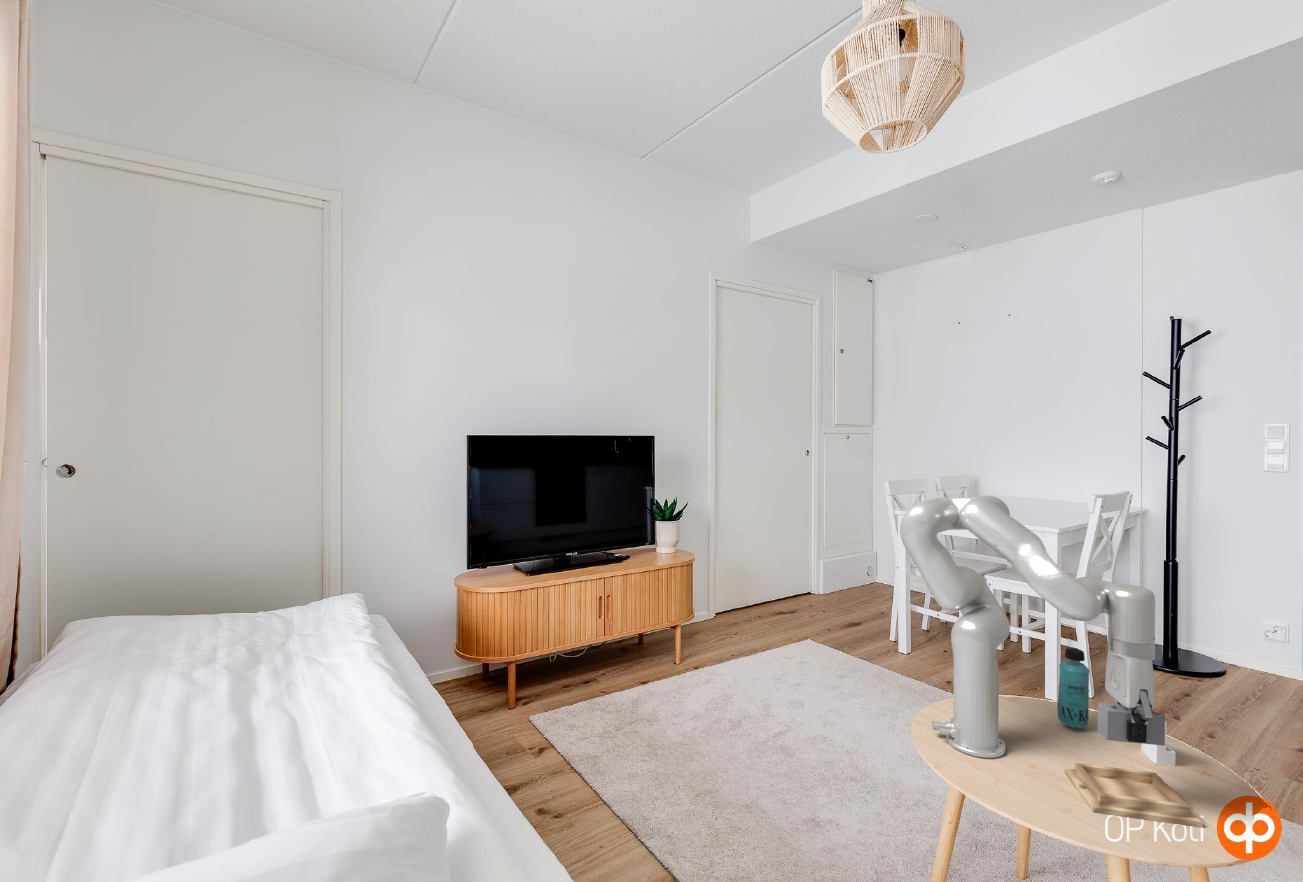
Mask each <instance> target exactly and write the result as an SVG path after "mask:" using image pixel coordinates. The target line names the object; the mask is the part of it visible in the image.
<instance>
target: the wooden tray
mask: <svg viewBox="0 0 1303 882" xmlns="http://www.w3.org/2000/svg"><path fill="white" fill-rule="evenodd" d="M1064 774H1065V775H1066V777H1067V778H1068V779H1069V781H1070V782H1071V784H1072V785H1073V786H1074V788H1075V790H1076V791H1077V792H1078V793H1079V795H1080V797H1082V799H1083V801H1085V803H1086V804H1087V806H1088V807H1089V809H1090V810H1091V811H1092V812H1093V813H1096V814H1098V813H1099V814H1104V815H1105V814H1106V815H1109V816H1110V815H1111V816H1118V817H1119V816H1120V817H1126V818H1133V819H1140V820H1147V821H1154V822H1159V823H1160V822H1163V823H1168V824H1176V825H1183V826H1188V827H1189V826H1191V827H1196V828H1197V827H1198V828H1203V821H1202V820H1201V819H1200V818H1199V817H1197V815H1196V814H1195V813H1194V812H1193V811H1192V810H1191V807H1190V806H1189V805H1188V804H1187V803H1186V802H1185V801H1184V800H1183V799H1182V797H1180V795H1178V794H1177V793H1176V792H1175V791H1174V790H1173V788H1172V787H1170V785H1169V784H1167V782H1166V781H1165V780H1163V778H1162V777H1161V776H1159V774H1158V773H1157V772H1153V771H1147V770H1146V771H1145V770H1137V769H1130V768H1129V769H1128V768H1122V767H1111V766H1104V765H1095V764H1087V763H1079V762H1074V768H1073V769H1072V768H1068V767H1067V768H1066V767H1065V768H1064Z"/></svg>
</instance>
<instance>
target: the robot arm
mask: <svg viewBox="0 0 1303 882" xmlns="http://www.w3.org/2000/svg"><path fill="white" fill-rule="evenodd" d="M1010 512H1011V511H1010V509H1009V507H1008V505H1007V504H1006V503H1005V501H1003V500H1002V499H1001V498H999V497H996V496H993V495H980V496H979V495H978V496H977V495H976V496H956V497H955V496H951V497H950V496H949V497H938V498H932V499H927V500H922V501H920V502H917V503H915V504H914V505H911V507H910V508H909V509H908V510H907V511H905V513H904V514H903V517H902V519H901V522H900V525H899V533H900V534H899V535H900V538H901V543H902V545H903V547H904V548H905V550H906V552H907V553H908V555H909V557H910V558H911V560H912V561H913V564H914V565H915V567H916V568H917V570H918V573H919V574H920V576H921V577H922V579H923V581H924V583H925V585H926V586H927V588H928V590H929V592H930V594H931V596H932V597H933V598H934V600H935V602H936V603H937V605H939V606H940V608H942V609H944V610H946V611H947V612H956V611H960V613H961V616H960V617H959V618H958V619H957V620H956V621H955V622H954V623H953V625H952V628H951V631H950V632H951V633H950V640H951V641H950V642H951V643H950V644H951V649H952V650H951V651H952V657H953V659H952V660H953V711H952V712H953V715H952V716H953V717H950V718H949V721H945V722H941V721H936V720H935V721H934V720H932V721H931V726H932V727H931V728H932V730H935V731H939V734H940V735H943V736H944V735H945V739H946V741H947V743H948V744H949V745H950V746H951V747H952V748H954V749H955V750H957V751H959V752H961V753H964V754H967V755H970V756H973V757H977V758H983V759H985V758H986V759H994V758H1000V757H1001V756H1004V754H1006V744H1005V742H1004V741H1003V740H1002V739H1001V738H1000V737H999V704H1000V703H999V695H1000V693H999V691H1000V690H999V689H1000V688H999V687H1000V684H999V682H1000V681H999V679H1000V678H999V677H1000V676H999V675H1000V674H999V664H998V663H999V662H998V658H997V650H998V649H997V648H998V647H999V646H1000V645H1001V644H1003V643H1004V642H1005V641H1006V640H1007V639H1008V638H1009V635H1010V631H1011V625H1010V621H1009V619H1008V617H1007V614H1006V613H1005V611H1004V609H1003V607H1002V606H1001V605H1000V603H999V602H998V599H997V598H996V596H995V595H994V593H993V592H992V590H991V588H990V587H989V585H988V584H987V582H986V580H985V579H984V578H983V577H982V575H981V574H979V572H977V571H976V570H975V569H973V568H972V567H968V566H966V565H965V566H964V565H957V563H956V562H955V561H954V559H953V557H952V556H951V553H950V552H949V550H948V549H947V548H946V547H945V545H944V544H943V543H941V541H940V540H939V539H938V534H939V533H943V532H947V531H952V530H953V531H955V530H957V531H960V530H963V531H964V530H965V531H966V530H967V531H968V532H970V533H971V534H972V535H973V536H975V537H976V538H977V539H978V540H979V541H981V542H982V543H984V544H985V545H986V546H988V547H989V548H990V549H992V551H994V552H996V554H997V555H999V556H1001V557H1002V558H1003V560H1006V561H1007V562H1008V563H1009V564H1010V565H1011V566H1012V567H1013V568H1014V570H1015V571H1016V573H1018V575H1019V576H1020V577H1021V578H1022V580H1023V581H1024V582H1026V584H1027V585H1028V586H1029V587H1030V588H1031V589H1032V590H1033V591H1034V592H1035V593H1036V594H1037V595H1038V596H1040V598H1042V599H1043V600H1045V601H1046V602H1047V603H1048V604H1050V605H1051V606H1052V607H1053V608H1055V609H1056V610H1057V611H1059V612H1060V613H1062V615H1064V616H1066V617H1067V618H1070V619H1072V620H1075V621H1079V622H1088V621H1093V620H1094V619H1096V618H1097V617H1099V616H1100V615H1101V614H1106V615H1107V620H1108V621H1107V622H1108V623H1107V656H1106V664H1105V678H1104V679H1105V680H1104V687H1105V688H1104V689H1105V691H1106V692H1107V693H1108V694H1109V695H1110V696H1111V697H1112V698H1113V699H1114V703H1113V704H1122V705H1123V706H1124V707H1126V708H1128V714H1129V721H1128V720H1127V740H1128V741H1130V742H1129V743H1132V742H1140V743H1139V744H1142V743H1146V738H1147V724H1148V720H1149V719H1151V718H1152V712H1151V710H1152V709H1153V708H1155V703H1156V702H1155V701H1156V700H1155V699H1156V695H1155V694H1156V693H1155V692H1156V691H1155V690H1156V689H1155V688H1156V687H1155V674H1154V667H1153V661H1155V658H1156V596H1155V593H1154V592H1153V591H1152V590H1151V589H1149V588H1146V587H1143V586H1139V585H1134V584H1133V585H1132V584H1123V583H1122V584H1121V583H1120V584H1119V583H1115V582H1110V581H1106V580H1103V579H1100V578H1095V577H1090V576H1082V577H1077V578H1074V577H1073V576H1072V575H1070V574H1069V573H1068V572H1066V571H1065V570H1064V569H1062V568H1061V566H1059V565H1058V564H1057V563H1056V562H1055V561H1054V560H1053V559H1052V557H1051V556H1050V555H1049V554H1048V552H1047V551H1046V547H1045V546H1044V543H1043V541H1042V539H1041V538H1040V537H1039V536H1038V535H1037V534H1036V533H1034V532H1033V531H1031V530H1030V529H1029V528H1028V527H1026V526H1024V524H1022V523H1021V522H1019V521H1018V520H1017V519H1015V518H1014V517H1013V516H1011V515H1010V514H1011V513H1010ZM1136 705H1137V706H1136ZM1134 710H1138V711H1141V712H1140V713H1136V714H1135V715H1134Z"/></svg>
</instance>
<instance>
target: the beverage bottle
mask: <svg viewBox="0 0 1303 882" xmlns="http://www.w3.org/2000/svg"><path fill="white" fill-rule="evenodd" d="M1064 651H1065V652H1064V657H1065V658H1066V659H1068V660H1064V661H1062V662H1061V663H1059V673H1058V675H1059V676H1058V677H1059V679H1058V682H1059V684H1058V694H1057V698H1058V701H1057V718H1058V720H1059V722H1060V723H1062V724H1063V725H1067V726H1069V727H1072V728H1077V729H1083V728H1086V727H1088V725H1089V719H1090V718H1089V717H1090V715H1089V704H1090V703H1089V702H1090V669H1089V667H1087V666H1086V665H1085V664H1084V663H1083V662H1084V661H1086V659H1085V652H1084V651H1083V650H1081V649H1078V648H1075V647H1073V648H1072V647H1066V648H1065V650H1064Z"/></svg>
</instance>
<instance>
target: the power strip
mask: <svg viewBox="0 0 1303 882" xmlns="http://www.w3.org/2000/svg"><path fill="white" fill-rule="evenodd" d="M1136 706H1138V704H1136ZM1140 712H1141V711H1138V710H1134V715H1135V714H1136V713H1140ZM1151 712H1152V718H1151V719H1149V720H1148V724H1147V738H1146V743H1140V742H1130V741H1128V740H1127V720H1128V721H1129V714H1128V708H1126V707H1124V706H1123V705H1122V704H1114V703H1113V702H1112V703H1109V702H1102V701H1101V702H1099V701H1098V702H1097V731H1098V732H1099V733H1100V734H1101V735H1102V736H1103V738H1104V739H1105V740H1107V741H1112V742H1113V741H1114V742H1123V743H1134V744H1141V745H1142V744H1153V745H1163V746H1165V721H1166V716H1165V715H1164V714H1163V713H1162V712H1161V711H1159V710H1158V709H1156V708H1155V707H1154V708H1153V709H1152V710H1151Z"/></svg>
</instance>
